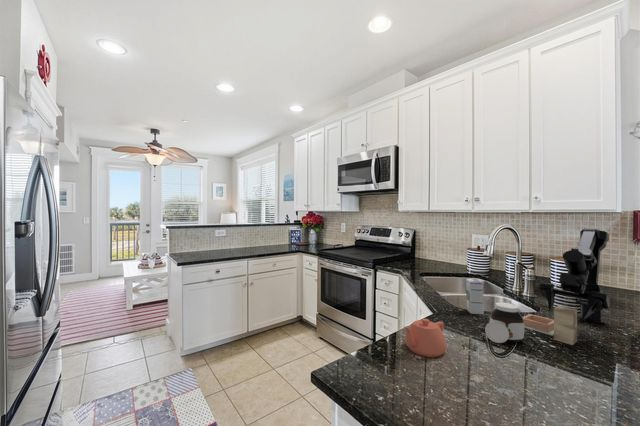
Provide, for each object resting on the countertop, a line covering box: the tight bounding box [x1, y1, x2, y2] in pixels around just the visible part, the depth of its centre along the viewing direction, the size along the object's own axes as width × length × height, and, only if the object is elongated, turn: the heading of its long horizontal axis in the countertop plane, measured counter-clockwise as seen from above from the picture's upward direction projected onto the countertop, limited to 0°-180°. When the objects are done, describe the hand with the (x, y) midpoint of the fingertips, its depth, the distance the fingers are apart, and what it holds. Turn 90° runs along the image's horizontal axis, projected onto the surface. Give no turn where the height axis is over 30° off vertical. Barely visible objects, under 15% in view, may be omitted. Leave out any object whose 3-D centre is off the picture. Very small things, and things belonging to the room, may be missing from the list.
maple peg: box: [553, 305, 578, 346], centre depth 97 cm, size 5×5×11 cm
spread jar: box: [484, 302, 525, 344], centre depth 97 cm, size 12×11×12 cm
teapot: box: [403, 318, 448, 358], centre depth 89 cm, size 12×18×10 cm
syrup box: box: [465, 278, 485, 315], centre depth 126 cm, size 6×6×14 cm
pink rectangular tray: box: [522, 313, 554, 337], centre depth 110 cm, size 12×12×3 cm
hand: (566, 314), depth 98 cm, fingers open, 9 cm apart
